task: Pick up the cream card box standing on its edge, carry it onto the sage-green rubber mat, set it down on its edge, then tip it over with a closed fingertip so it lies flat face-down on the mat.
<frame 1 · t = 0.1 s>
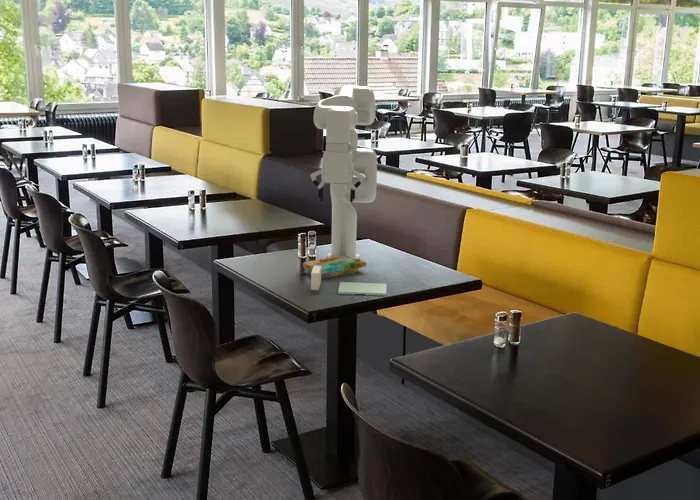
hand: (336, 201, 255), 31 cm above the table, tool pointing down, fingers open, 9 cm apart
puzzle game: (334, 273, 287), on the table
card box: (316, 286, 270), on the table
mat: (362, 289, 267), on the table
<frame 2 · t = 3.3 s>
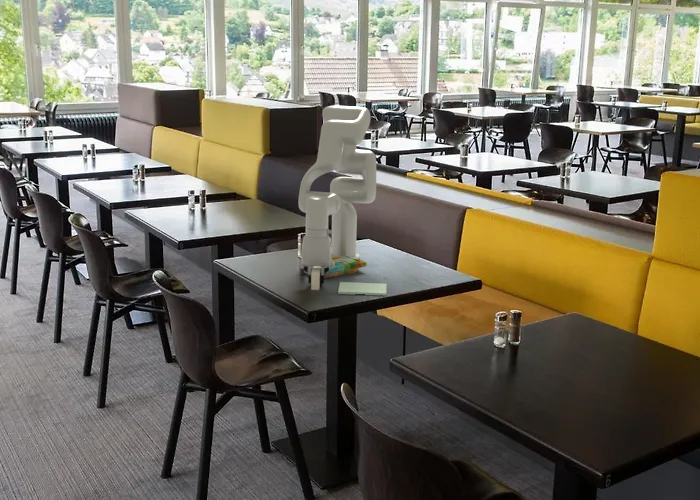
hand: (316, 285, 270), 0 cm above the table, tool pointing down, fingers closed on card box, 2 cm apart
card box: (316, 285, 270), on the table, touching gripper
everything else where it was.
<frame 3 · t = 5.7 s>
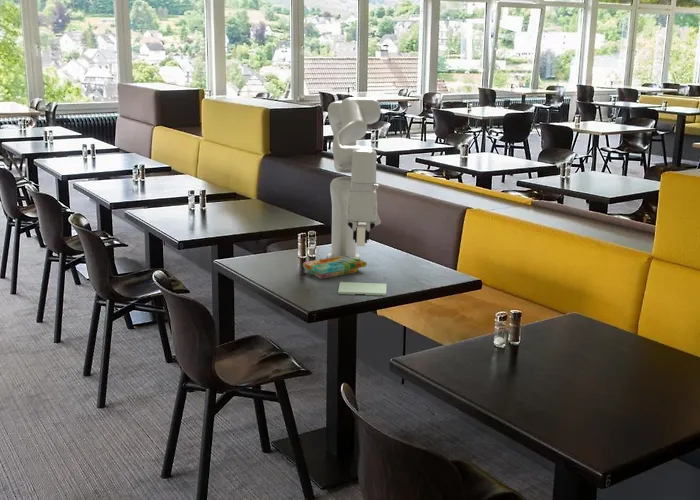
hand: (361, 241, 263), 17 cm above the table, tool pointing down, fingers closed on card box, 2 cm apart
card box: (361, 242, 263), point 16 cm above the table, touching gripper
everything else where it was.
when the fingers open (2 cm above the table, at t = 8.5 s): card box stays where it is, resting on mat.
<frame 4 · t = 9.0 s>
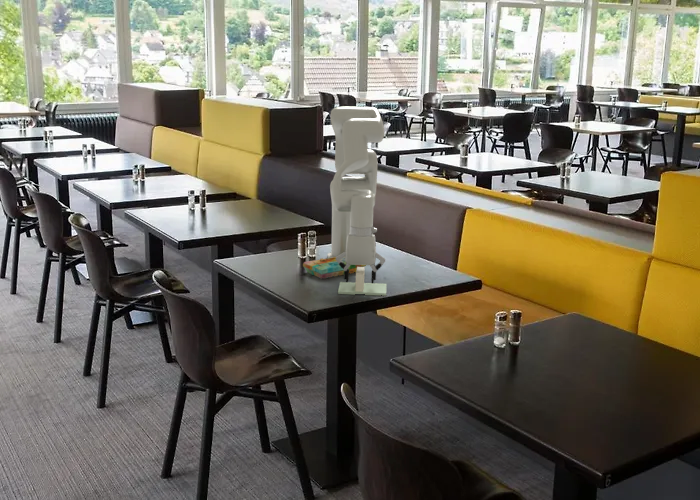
hand: (359, 281, 266), 3 cm above the table, tool pointing down, fingers open, 8 cm apart
card box: (359, 287, 267), point 1 cm above the table, touching mat
everything else where it was.
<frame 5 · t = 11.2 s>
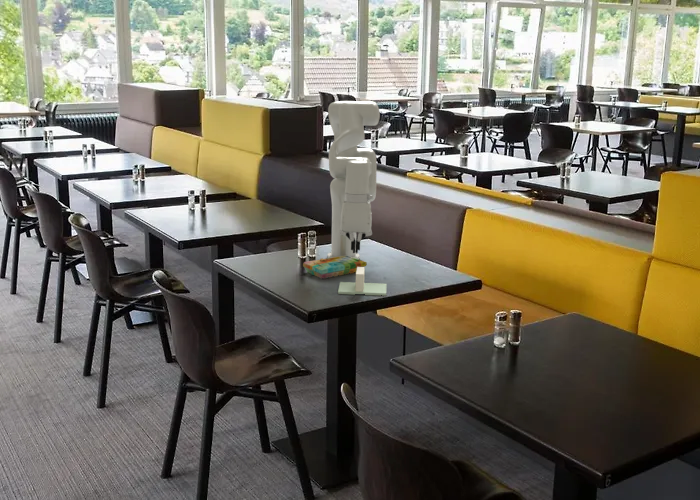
hand: (355, 252, 264), 13 cm above the table, tool pointing down, fingers closed
nothing on the table moved.
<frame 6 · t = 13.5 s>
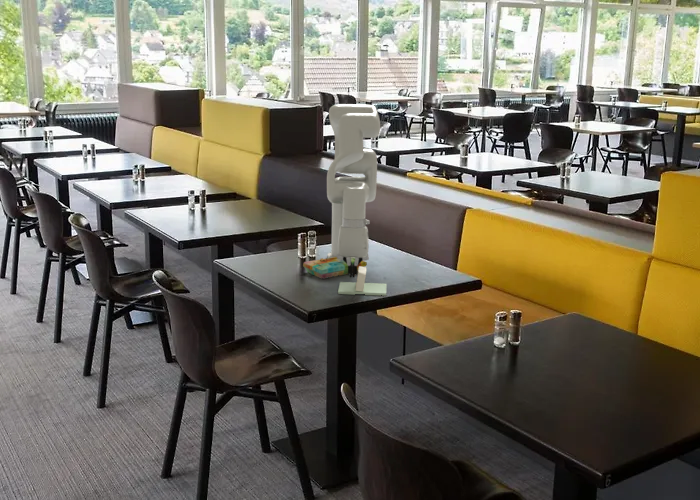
hand: (352, 276, 266), 5 cm above the table, tool pointing down, fingers closed
card box: (359, 287, 267), point 1 cm above the table, tilted 6°, touching mat
everything else where it was.
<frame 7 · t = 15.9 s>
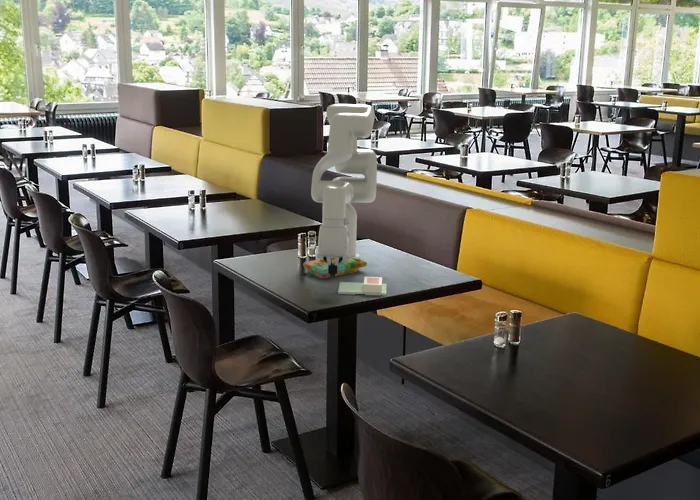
hand: (332, 275, 266), 5 cm above the table, tool pointing down, fingers closed
card box: (363, 284, 266), point 2 cm above the table, tilted 90°, touching mat
everything else where it was.
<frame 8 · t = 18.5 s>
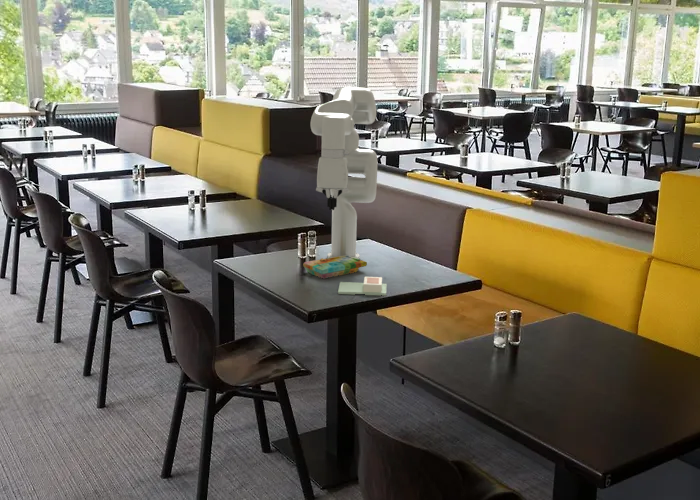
hand: (332, 209, 262), 27 cm above the table, tool pointing down, fingers closed
nothing on the table moved.
at the end: card box tilted 90°; card box inside the target area on the mat (0.4 cm from its centre), point 2.1 cm above the mat's base; the gripper is holding nothing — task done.
